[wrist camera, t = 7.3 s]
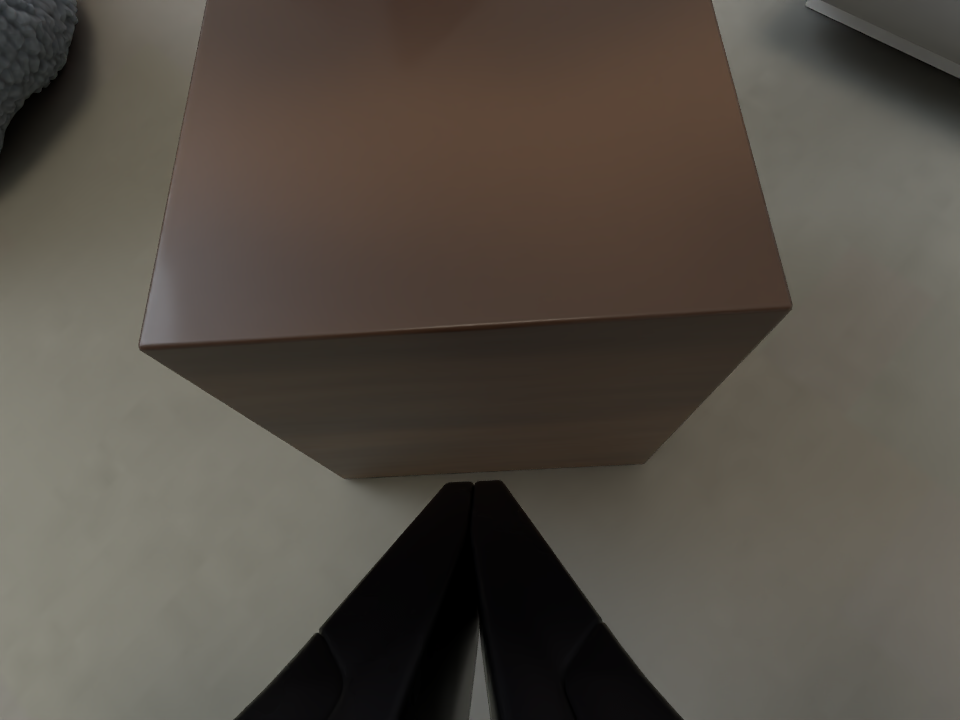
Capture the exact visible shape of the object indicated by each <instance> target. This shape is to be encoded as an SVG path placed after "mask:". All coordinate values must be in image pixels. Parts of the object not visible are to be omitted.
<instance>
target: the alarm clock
mask: <svg viewBox="0 0 960 720" xmlns="http://www.w3.org/2000/svg"><path fill="white" fill-rule="evenodd" d="M805 6H807V7H809V8H811V9H813V10H815V11H817V12H819V13H822V14H824V15H826V16H828V17H830V18H832V19H834V20H836V21H838V22H841V23H843V24H845V25H847V26H849V27H851V28H853V29H855V30H858V31H860V32H862V33H864V34H866V35H868V36H870V37H872V38H875V39H877V40H879V41H881V42H883V43H885V44H887V45H889V46H891V47H894V48H896V49H898V50H900V51H902V52H904V53H906V54H908V55H911V56H913V57H915V58H917V59H919V60H921V61H923V62H925V63H927V64H930V65H932V66H934V67H936V68H938V69H940V70H942V71H944V72H947V73H949V74H951V75H953V76H955V77H957V78H959V79H960V0H808V1H807V3H806V5H805Z"/></svg>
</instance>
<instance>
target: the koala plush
mask: <svg viewBox="0 0 960 720" xmlns="http://www.w3.org/2000/svg"><path fill="white" fill-rule="evenodd" d="M76 5H77V2H76V0H0V152H1V149H2V148H3V140H4V135H5V130H6V128H7V126H8V125H9V123H10V120H11V119H12V118H13V116H14V115H15V113H16V112H17V111H18V110H19V109H20V108H21V107H22V106H23V104H24V100H25V99H27V98H29V97H30V95H31V94H32V93H33V92H35V93H39V92H41V90H42V87H44V88H46V87H47V86H48V85H49V84H50V80H52V79H55V78H56V77H57V71H59V70H61V69H62V68H63V66H64V65H65V63H66V59H67V55H68V47H69V46H70V44H71V40H72V35H73V32H74V30H75V24H76V23H77V22H78V19H77V18H76V15H75V13H76V12H77V11H78V9H77V7H76Z"/></svg>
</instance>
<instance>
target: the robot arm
mask: <svg viewBox="0 0 960 720" xmlns="http://www.w3.org/2000/svg"><path fill="white" fill-rule="evenodd" d="M479 629H480V639H481V649H482V657H483V665H484V672H485V680H486V688H487V696H488V703H489V711H490V719H491V720H684V719H683V718H682V717H681V716H680V715H679V714H678V713H677V712H676V711H675V710H674V708H673V707H672V706H671V705H670V704H669V703H668V702H667V700H666V699H665V698H664V697H663V696H662V695H661V694H660V693H659V691H658V690H657V689H656V688H655V687H654V686H653V685H652V684H651V682H650V681H649V680H648V679H647V678H646V677H645V675H644V674H643V673H642V672H641V670H640V669H639V668H638V666H637V665H636V664H635V663H634V661H633V660H632V659H631V657H630V656H629V655H628V654H627V652H626V651H625V650H624V648H623V647H622V646H621V645H620V643H619V642H618V640H617V639H616V638H615V636H614V635H613V633H612V632H611V631H610V629H609V628H608V626H607V625H606V624H605V623H603V622H602V619H601V617H600V616H599V614H598V613H597V612H596V610H595V609H594V608H593V606H592V605H591V603H590V602H589V601H588V599H587V598H586V596H585V595H584V594H583V592H582V591H581V590H580V588H579V587H578V585H577V584H576V583H575V581H574V580H573V578H572V577H571V576H570V574H569V573H568V572H567V570H566V569H565V567H564V566H563V565H562V563H561V562H560V560H559V559H558V558H557V556H556V555H555V554H554V552H553V551H552V549H551V548H550V547H549V545H548V544H547V542H546V541H545V540H544V538H543V537H542V536H541V534H540V533H539V531H538V530H537V529H536V527H535V526H534V524H533V523H532V522H531V520H530V519H529V518H528V516H527V515H526V513H525V512H524V511H523V509H522V508H521V506H520V505H519V504H518V502H517V501H516V500H515V498H514V497H513V495H512V494H511V493H510V491H509V490H508V488H507V487H506V486H505V484H504V483H503V482H502V481H500V480H490V481H478V482H476V483H475V485H474V484H473V483H472V482H450V483H447V484H445V485H444V486H443V488H442V489H441V490H440V491H439V492H438V493H437V494H436V496H435V497H434V498H433V499H432V500H431V501H430V502H429V504H428V505H427V506H426V507H425V508H424V509H423V510H422V512H421V513H420V514H419V515H418V516H417V517H416V518H415V520H414V521H413V522H412V523H411V524H410V525H409V526H408V528H407V529H406V530H405V531H404V532H403V533H402V535H401V536H400V537H399V538H398V539H397V540H396V541H395V543H394V544H393V545H392V546H391V547H390V548H389V549H388V551H387V552H386V553H385V554H384V555H383V556H382V557H381V559H380V560H379V561H378V562H377V563H376V564H375V565H374V567H373V568H372V569H371V570H370V571H369V572H368V574H367V575H366V576H365V577H364V578H363V579H362V580H361V582H360V583H359V584H358V585H357V586H356V587H355V588H354V590H353V591H352V592H351V593H350V594H349V595H348V596H347V598H346V599H345V600H344V601H343V602H342V603H341V604H340V606H339V607H338V608H337V609H336V610H335V611H334V612H333V614H332V615H331V616H330V617H329V618H328V619H327V621H326V622H325V623H324V624H323V625H322V626H321V627H320V629H319V633H315V634H314V635H313V636H312V637H311V639H310V640H309V641H308V642H307V643H306V644H305V645H304V647H303V648H302V649H301V650H300V651H299V652H298V653H297V655H296V656H295V657H294V658H293V659H292V660H291V661H290V662H289V663H288V664H287V665H286V666H285V668H284V669H283V670H282V671H281V672H280V673H279V674H278V675H277V676H276V677H275V678H274V680H273V681H272V682H271V683H270V684H269V685H268V686H267V687H266V688H265V689H264V690H263V691H262V692H261V693H260V694H259V695H258V696H257V697H256V698H255V699H254V700H253V701H252V702H251V703H250V704H249V705H248V706H247V707H246V708H245V709H244V710H243V711H242V712H241V713H240V714H239V715H238V716H237V717H236V718H235V719H234V720H469V714H470V706H471V698H472V690H473V681H474V673H475V665H476V657H477V647H478V637H479Z"/></svg>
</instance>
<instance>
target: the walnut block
mask: <svg viewBox="0 0 960 720" xmlns="http://www.w3.org/2000/svg"><path fill="white" fill-rule="evenodd" d="M791 310H792V301H791V297H790V293H789V290H788V286H787V282H786V278H785V275H784V271H783V267H782V263H781V260H780V256H779V252H778V248H777V245H776V241H775V237H774V233H773V230H772V226H771V222H770V218H769V215H768V211H767V207H766V203H765V200H764V196H763V192H762V188H761V185H760V181H759V177H758V173H757V170H756V166H755V162H754V158H753V155H752V151H751V147H750V143H749V139H748V136H747V132H746V128H745V124H744V121H743V117H742V113H741V109H740V106H739V102H738V98H737V94H736V91H735V87H734V83H733V79H732V76H731V72H730V68H729V64H728V61H727V57H726V53H725V49H724V46H723V42H722V38H721V34H720V31H719V27H718V23H717V19H716V16H715V12H714V8H713V4H712V1H711V0H207V2H206V7H205V12H204V17H203V22H202V27H201V32H200V37H199V42H198V47H197V52H196V57H195V62H194V67H193V72H192V77H191V83H190V88H189V93H188V98H187V103H186V108H185V113H184V118H183V123H182V128H181V133H180V138H179V143H178V148H177V153H176V158H175V163H174V168H173V173H172V178H171V183H170V189H169V194H168V199H167V204H166V209H165V214H164V219H163V224H162V229H161V234H160V239H159V244H158V249H157V254H156V259H155V264H154V269H153V274H152V279H151V284H150V289H149V294H148V300H147V305H146V310H145V315H144V320H143V325H142V330H141V335H140V340H139V349H140V350H141V351H142V352H144V353H145V354H147V355H149V356H150V357H152V358H153V359H155V360H156V361H158V362H160V363H161V364H163V365H164V366H166V367H168V368H169V369H171V370H172V371H174V372H176V373H177V374H179V375H180V376H182V377H183V378H185V379H187V380H188V381H190V382H191V383H193V384H195V385H196V386H198V387H199V388H201V389H202V390H204V391H206V392H207V393H209V394H210V395H212V396H214V397H215V398H217V399H218V400H220V401H222V402H223V403H225V404H226V405H228V406H229V407H231V408H233V409H234V410H236V411H237V412H239V413H241V414H242V415H244V416H245V417H247V418H248V419H250V420H252V421H253V422H255V423H256V424H258V425H260V426H261V427H263V428H264V429H266V430H268V431H269V432H271V433H272V434H274V435H275V436H277V437H279V438H280V439H282V440H283V441H285V442H287V443H288V444H290V445H291V446H293V447H295V448H296V449H298V450H299V451H301V452H302V453H304V454H306V455H307V456H309V457H310V458H312V459H314V460H315V461H317V462H318V463H320V464H321V465H323V466H325V467H326V468H328V469H329V470H331V471H333V472H334V473H336V474H337V475H339V476H341V477H342V478H344V479H350V478H370V477H390V476H410V475H430V474H450V473H470V472H490V471H510V470H529V469H549V468H569V467H589V466H609V465H629V464H644V463H645V462H646V461H647V460H648V459H649V458H650V457H651V456H652V455H653V454H654V453H655V452H656V451H657V450H658V449H659V448H660V447H661V445H662V444H663V443H664V442H665V441H666V440H667V439H668V438H669V437H670V436H671V435H672V434H673V433H674V432H675V431H676V430H677V429H678V428H679V427H680V426H681V425H682V424H683V422H684V421H685V420H686V419H687V418H688V417H689V416H690V415H691V414H692V413H693V412H694V411H695V410H696V409H697V408H698V407H699V406H700V405H701V404H702V403H703V402H704V401H705V400H706V398H707V397H708V396H709V395H710V394H711V393H712V392H713V391H714V390H715V389H716V388H717V387H718V386H719V385H720V384H721V383H722V382H723V381H724V380H725V379H726V378H727V377H728V375H729V374H730V373H731V372H732V371H733V370H734V369H735V368H736V367H737V366H738V365H739V364H740V363H741V362H742V361H743V360H744V359H745V358H746V357H747V356H748V355H749V354H750V353H751V351H752V350H753V349H754V348H755V347H756V346H757V345H758V344H759V343H760V342H761V341H762V340H763V339H764V338H765V337H766V336H767V335H768V334H769V333H770V332H771V331H772V330H773V328H774V327H775V326H776V325H777V324H778V323H779V322H780V321H781V320H782V319H783V318H784V317H785V316H786V315H787V314H788V313H789V312H790V311H791Z"/></svg>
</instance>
